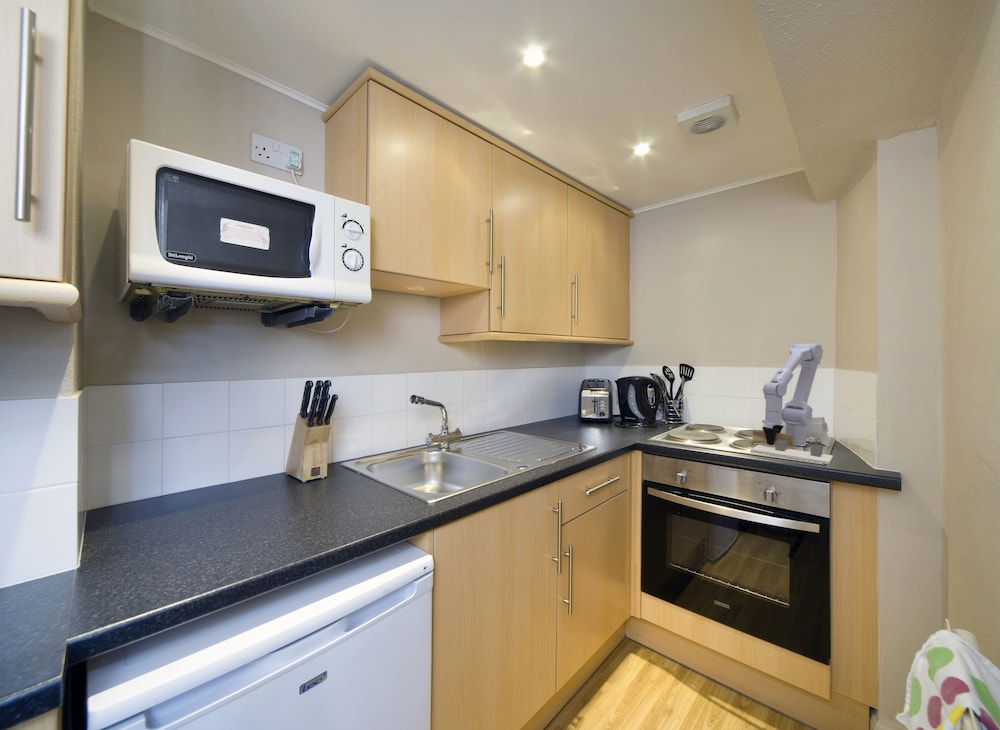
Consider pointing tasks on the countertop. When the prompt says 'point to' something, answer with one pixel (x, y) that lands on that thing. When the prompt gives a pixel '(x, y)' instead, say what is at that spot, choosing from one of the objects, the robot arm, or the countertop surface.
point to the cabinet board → (794, 452)
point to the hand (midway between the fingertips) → (772, 443)
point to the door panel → (761, 438)
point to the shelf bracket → (813, 429)
